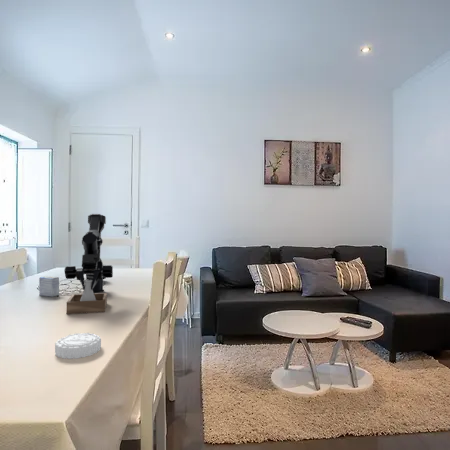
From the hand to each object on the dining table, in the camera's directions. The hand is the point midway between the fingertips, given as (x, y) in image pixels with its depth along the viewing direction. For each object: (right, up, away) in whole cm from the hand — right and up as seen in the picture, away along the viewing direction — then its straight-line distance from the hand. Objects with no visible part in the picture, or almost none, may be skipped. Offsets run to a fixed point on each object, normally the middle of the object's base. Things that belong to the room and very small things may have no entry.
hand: (87, 289), depth 140 cm
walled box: (0, -8, +1) cm, 8 cm away
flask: (0, -7, +2) cm, 7 cm away
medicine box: (-28, -8, +23) cm, 37 cm away
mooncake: (+14, -10, -42) cm, 46 cm away
